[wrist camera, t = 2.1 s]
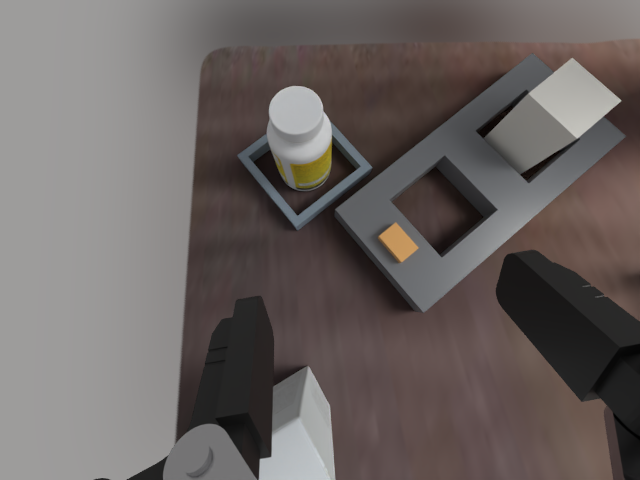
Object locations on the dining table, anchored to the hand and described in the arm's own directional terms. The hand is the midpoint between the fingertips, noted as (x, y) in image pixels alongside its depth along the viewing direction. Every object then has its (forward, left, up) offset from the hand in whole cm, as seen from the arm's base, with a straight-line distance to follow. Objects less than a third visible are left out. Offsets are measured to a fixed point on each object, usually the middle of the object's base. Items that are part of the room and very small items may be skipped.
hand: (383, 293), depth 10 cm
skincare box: (+10, +4, -19) cm, 22 cm away
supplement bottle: (-5, -13, -19) cm, 24 cm away
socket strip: (-17, -1, -19) cm, 26 cm away
